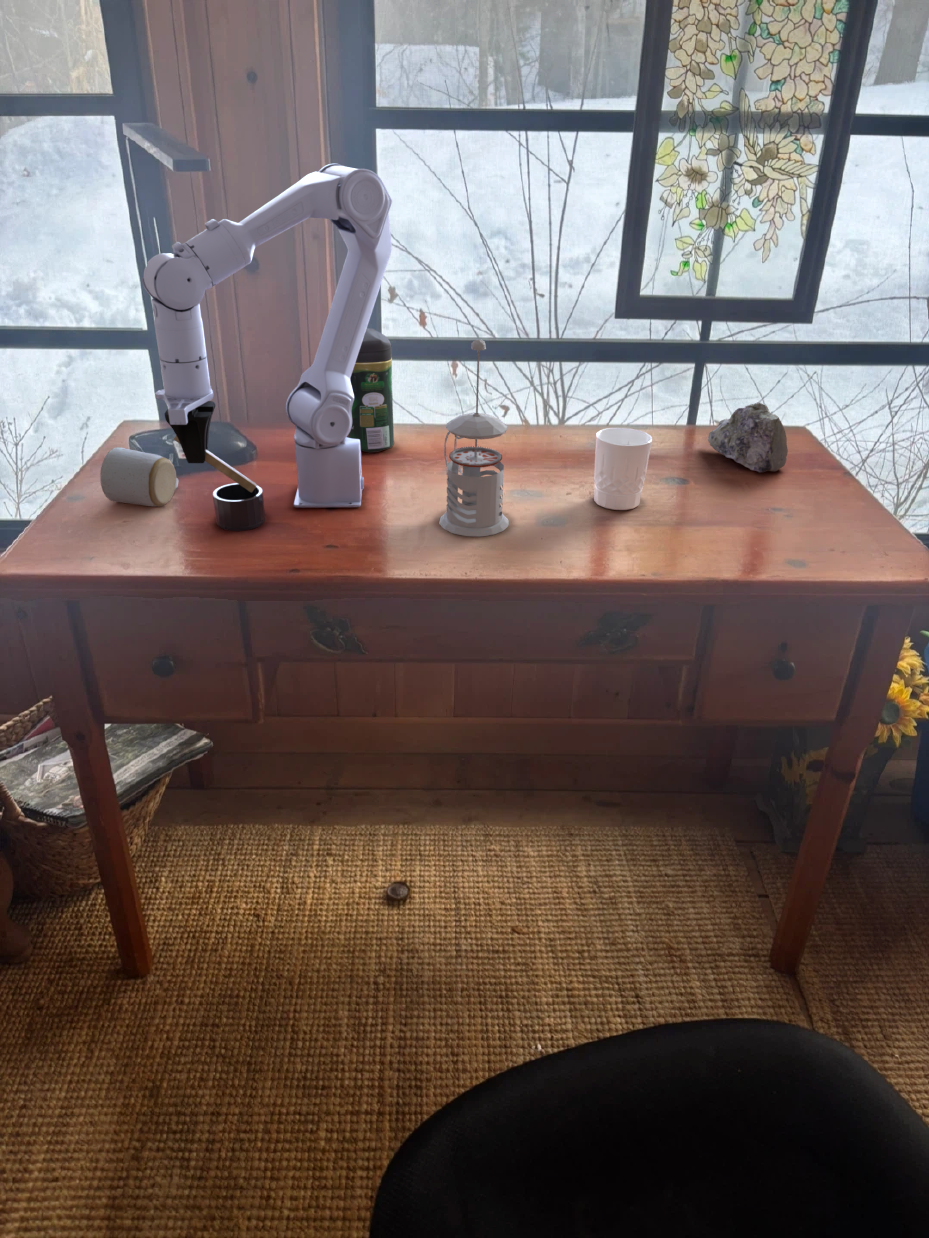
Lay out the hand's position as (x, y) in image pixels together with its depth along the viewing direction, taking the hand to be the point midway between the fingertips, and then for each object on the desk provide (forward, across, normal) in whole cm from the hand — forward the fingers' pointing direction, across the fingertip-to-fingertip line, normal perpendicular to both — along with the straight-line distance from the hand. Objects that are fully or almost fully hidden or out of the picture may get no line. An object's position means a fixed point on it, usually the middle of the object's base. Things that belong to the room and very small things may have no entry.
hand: (197, 460), depth 121 cm
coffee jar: (+9, -31, +22) cm, 39 cm away
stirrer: (0, 0, +2) cm, 2 cm away
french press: (+9, 0, +37) cm, 38 cm away
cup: (+9, 0, +5) cm, 10 cm away
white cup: (+9, -6, +59) cm, 60 cm away
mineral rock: (+9, -23, +84) cm, 87 cm away
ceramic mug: (+9, -8, -10) cm, 16 cm away
